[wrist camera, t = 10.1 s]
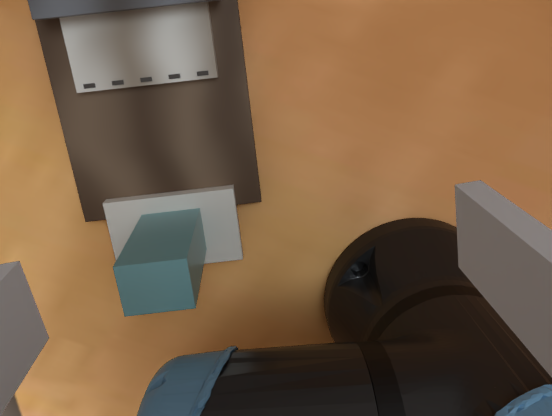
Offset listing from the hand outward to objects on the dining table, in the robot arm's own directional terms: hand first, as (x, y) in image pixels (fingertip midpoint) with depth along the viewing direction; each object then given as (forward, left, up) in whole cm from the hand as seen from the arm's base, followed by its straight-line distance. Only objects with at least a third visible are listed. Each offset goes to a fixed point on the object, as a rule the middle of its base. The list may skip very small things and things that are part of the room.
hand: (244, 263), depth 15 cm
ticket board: (+7, -3, -26) cm, 27 cm away
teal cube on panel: (+7, +8, -24) cm, 27 cm away
